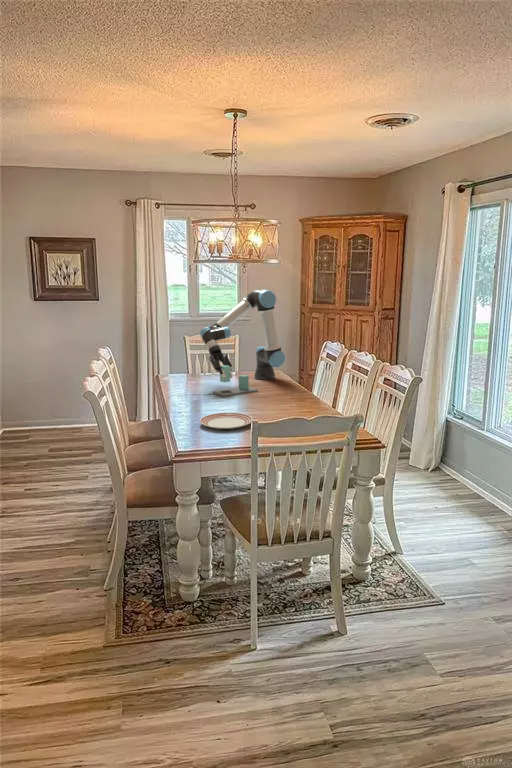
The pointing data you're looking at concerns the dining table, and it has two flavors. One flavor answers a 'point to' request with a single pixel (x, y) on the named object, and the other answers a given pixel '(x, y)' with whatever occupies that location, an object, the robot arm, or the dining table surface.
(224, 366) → the cylinder
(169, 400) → the dining table surface
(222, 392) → the grey slotted board
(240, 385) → the block
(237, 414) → the dinner plate
